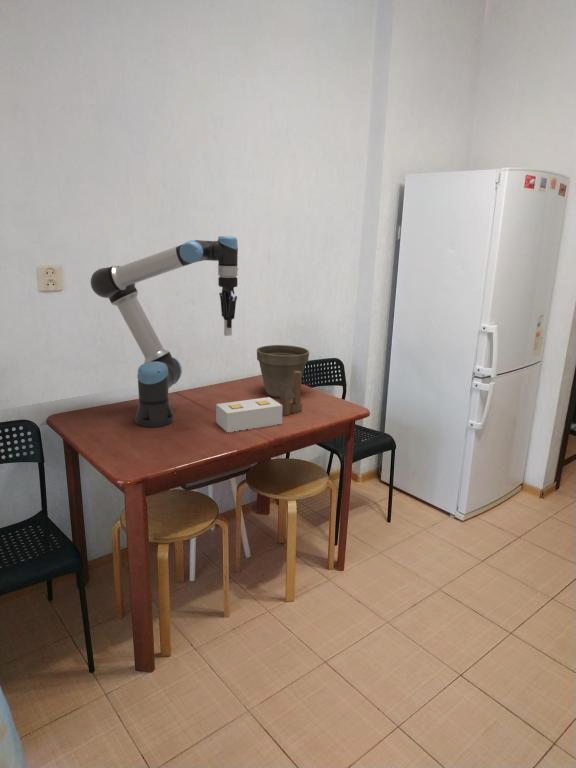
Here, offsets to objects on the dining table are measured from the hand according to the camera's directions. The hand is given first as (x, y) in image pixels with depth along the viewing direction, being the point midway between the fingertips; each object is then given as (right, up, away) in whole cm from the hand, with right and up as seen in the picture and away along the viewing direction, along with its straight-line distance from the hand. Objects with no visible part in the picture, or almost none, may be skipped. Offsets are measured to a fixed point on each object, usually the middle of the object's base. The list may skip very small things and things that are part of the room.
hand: (227, 335), depth 218 cm
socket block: (+9, -36, +1) cm, 37 cm away
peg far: (+14, -35, +3) cm, 38 cm away
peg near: (+3, -37, -2) cm, 37 cm away
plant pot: (+21, -25, +42) cm, 53 cm away
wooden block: (+26, -33, +15) cm, 44 cm away
